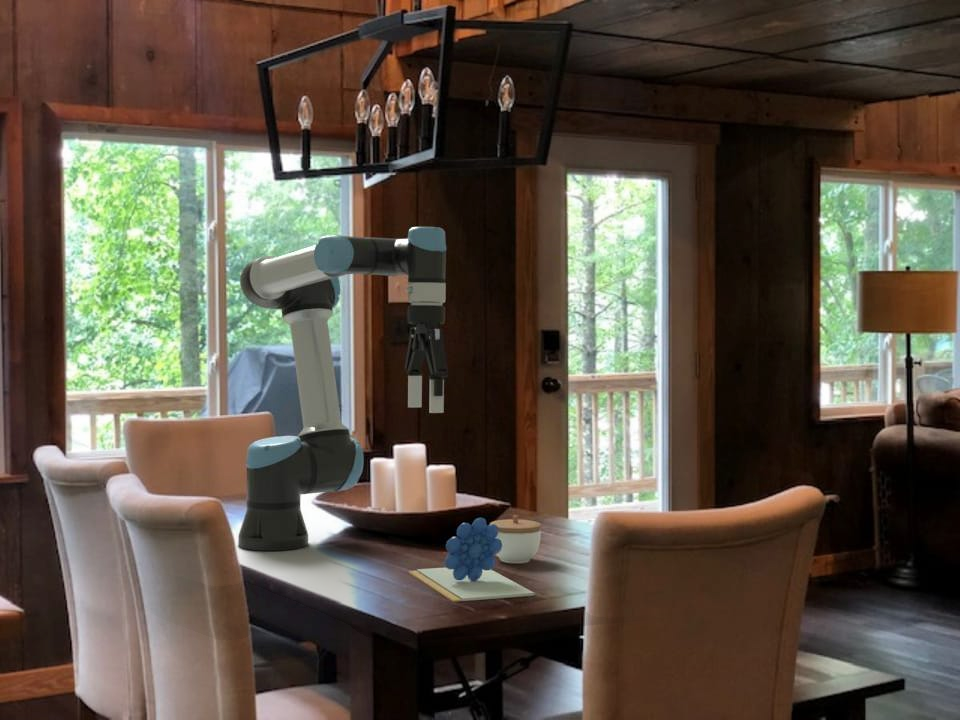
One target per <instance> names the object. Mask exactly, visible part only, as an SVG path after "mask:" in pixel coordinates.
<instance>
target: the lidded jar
mask: <svg viewBox="0 0 960 720" xmlns="http://www.w3.org/2000/svg"><path fill="white" fill-rule="evenodd" d="M489 524H495V525H497V526H498V530H499V532H498V535H497V537H496V538H497V539H500V540H501V542H502V549H501V550H500V552H499V553H497V554H495V555H496V556H497V558H499V560H500V562H502V563H507V564H525V563H527V564H528V563H529V562H530V561H531V559H532V558H533V557H534V556H535V555H536V553H537V552H538V550H539V547H540V543H541V536H542V533H541V532H542V524H541V522H539V521H535V520H529V519H519V516H518V515H515V514H514V515H513V516H512V518H511V519H509V518H508V519H498V520H494V521H491V522H489Z"/></svg>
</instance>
